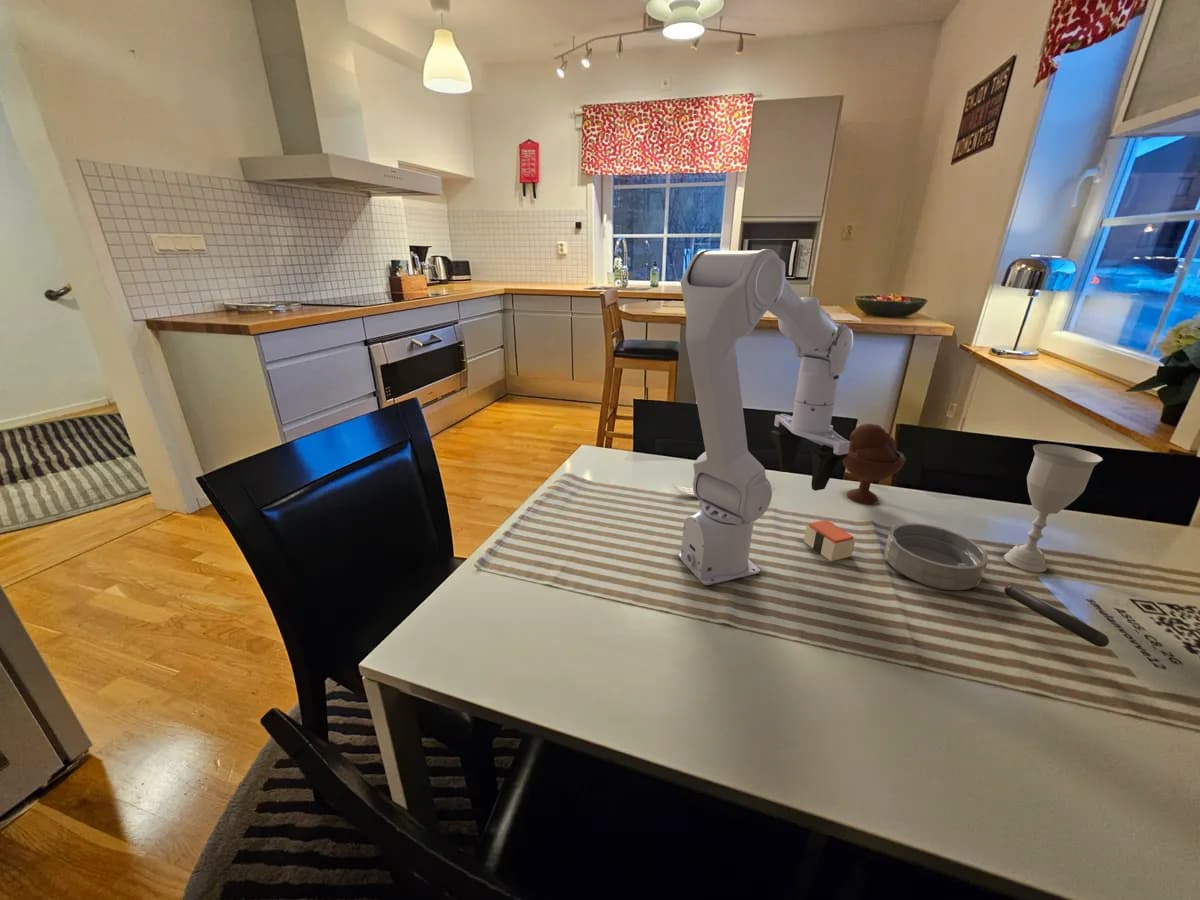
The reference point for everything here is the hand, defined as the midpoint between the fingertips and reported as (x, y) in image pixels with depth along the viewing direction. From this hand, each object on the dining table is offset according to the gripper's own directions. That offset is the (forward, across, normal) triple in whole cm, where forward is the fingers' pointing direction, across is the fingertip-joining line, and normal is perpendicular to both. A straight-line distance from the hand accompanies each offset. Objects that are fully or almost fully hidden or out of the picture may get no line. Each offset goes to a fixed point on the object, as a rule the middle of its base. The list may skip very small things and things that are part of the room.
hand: (801, 479), depth 82 cm
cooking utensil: (+8, +17, +11) cm, 21 cm away
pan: (+9, -17, -11) cm, 22 cm away
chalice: (+9, -21, -26) cm, 34 cm away
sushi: (+9, -8, 0) cm, 12 cm away
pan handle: (+6, -32, -11) cm, 34 cm away
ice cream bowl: (+9, +4, -20) cm, 22 cm away
